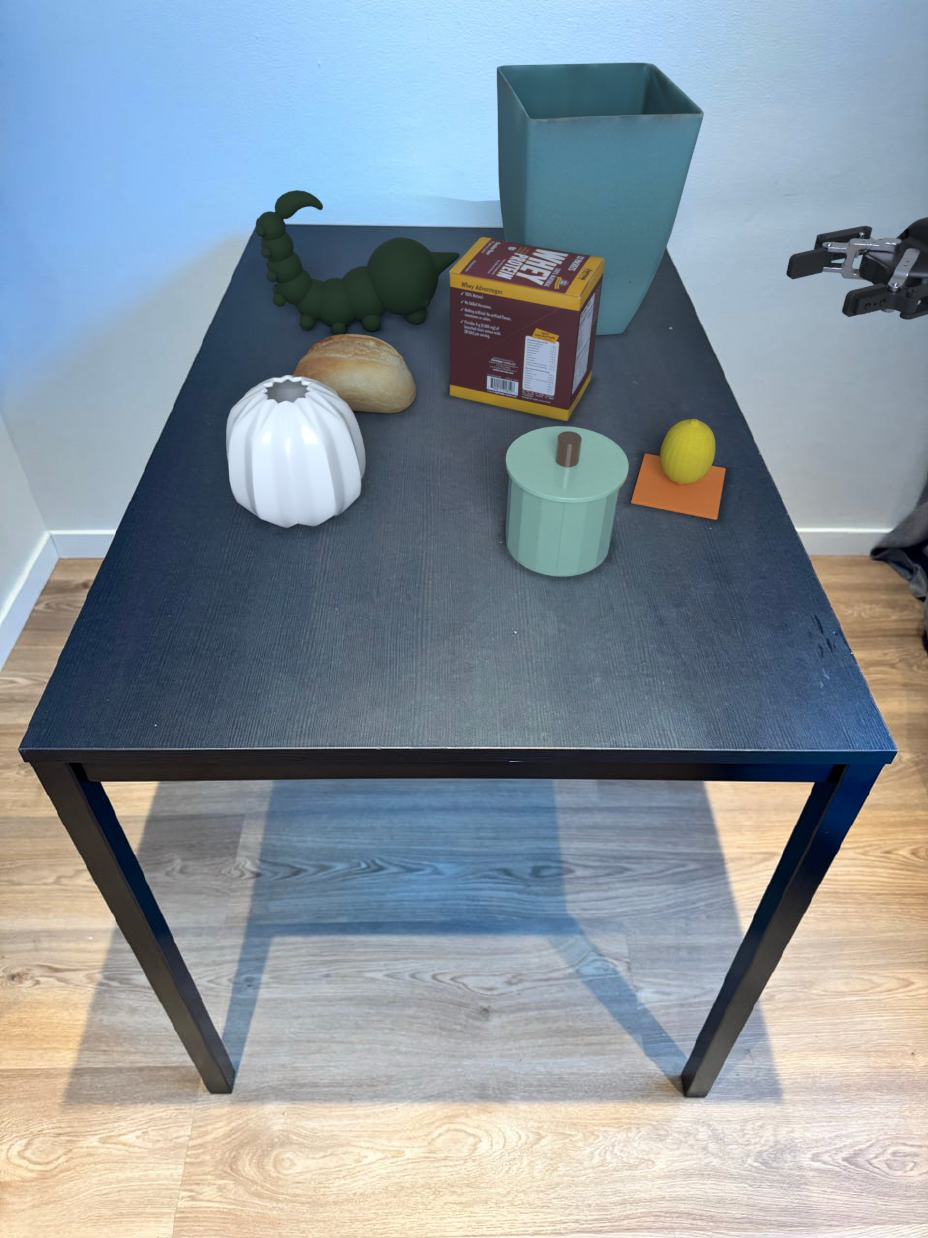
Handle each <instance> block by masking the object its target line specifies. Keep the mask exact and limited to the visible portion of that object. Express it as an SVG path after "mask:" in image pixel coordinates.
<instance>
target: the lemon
mask: <svg viewBox="0 0 928 1238" xmlns="http://www.w3.org/2000/svg"><path fill="white" fill-rule="evenodd" d="M715 455H716V439H715V435H714V432H713V431H712V429H711V428H710V426H708V425H707V424H706V423H705V422H703V421H701V420H699V419H697V418H687V419H683V420H680V421H679V422H677V423H675V424H674V425H673V426H672V427H671V428H670V429H669V430H668V431H667V433H666V434H665V436H664V438H663V441H662V444H661V447H660V453H659V456H660V463H661V467H662V469H663V472H664V473H665V475H666V476H667V477H668V478H669V479H670V480H672V481H674V482H676V483H678V484H679V485H683V484H691V483H694V482H697V481H699V480H700V479H701V478H703V477H704V476H705V475H706V474H707V472H708V471H709V469H710V468H711V466H713V463H714V460H715Z"/></svg>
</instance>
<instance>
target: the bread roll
mask: <svg viewBox="0 0 928 1238" xmlns="http://www.w3.org/2000/svg"><path fill="white" fill-rule="evenodd" d="M291 375H293V376H297V377H300V376H303V377H307V378H310V379H313V380H316V381H319V382H321V383H323V384H326V385H327V386H329V387H331V388H333V389H335V390H336V392H337V394H338V396H339V397H340V398H341V399H342V400H344V401H345V402H346V403H347V404H348V405H349V407H350V408H351V410H352V412H364V413H373V414H376V413H377V414H399V413H400V412H403V411H405V410H407V409H408V408H409V407H410V406H411V405H412V404H413V403H414V401H415V400H416V397H417V386H416V383H415V380H414V377H413V374H412V372H411V371H410V369H409V367H408V365H407V364H406V362H405V359H404V357H403V355H401V354H400V353H399V352H398V351H397V349H396V348H394V346H393V345H391V344H390V343H388V342H387V341H384V340H382V339H380V338H378V337H375V336H371V335H366V334H357V333H345V334H341V335H335V334H333V335H330V336H326V337H325V338H323V339H321V340H320V341H318V342H316V343H314V344H313V345H312V346H311V348H310V349H309V350H307V353H305V354H304V355H303V356H302V358H301V359H300V360H299V361H298V363H297V365H296V366H295V369H294V371H293V373H292V374H291Z"/></svg>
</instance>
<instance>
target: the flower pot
mask: <svg viewBox="0 0 928 1238" xmlns="http://www.w3.org/2000/svg"><path fill="white" fill-rule="evenodd" d="M496 97H497V98H496V100H497V101H496V102H497V164H498V165H497V166H498V167H497V168H498V171H497V172H498V173H497V174H498V192H499V204H500V214H501V223H502V230H503V236H504V241H507V242H513V243H519V244H524V245H530V246H535V247H541V248H547V249H553V250H559V251H565V252H571V253H577V254H583V255H590V256H597V257H601V258H604V259H605V263H604V272H603V280H602V288H601V296H600V305H599V313H598V322H597V330H596V336H610V335H621V334H623V333H624V332H625V331H626V329H627V328H628V326H629V324H630V322H631V321H632V319H633V318H634V316H635V315H636V313H637V312H638V310H639V308H640V306H641V304H642V303H643V301H644V300H645V297H646V295H647V293H648V291H649V289H650V287H651V285H652V282H653V280H654V278H655V276H656V274H657V272H658V270H659V267H660V264H661V262H662V261H663V257H664V255H665V252H666V250H667V247H668V243H669V241H670V238H671V236H672V232H673V228H674V225H675V222H676V218H677V215H678V210H679V208H680V202H681V200H682V196H683V192H684V189H685V185H686V181H687V178H688V174H689V170H690V166H691V162H692V160H693V156H694V153H695V148H696V145H697V142H698V138H699V134H700V131H701V127H702V123H703V119H704V115H705V112H704V110H703V109H702V108H701V107H700V106H699V105H697V103H695V101H693V100H692V99H691V97H689V95H687V94H686V93H685V92H684V91H683V90H682V89H681V88H680V87H679V86H677V84H675V82H674V81H672V79H670V78H669V77H668V76H667V74H665V73H664V72H663V71H662V69H660V68H659V67H658V66H657V65H655V64H654V63H651V62H601V63H600V62H595V63H591V62H590V63H549V64H504V65H499V66H497V67H496Z"/></svg>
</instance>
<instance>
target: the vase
mask: <svg viewBox="0 0 928 1238" xmlns="http://www.w3.org/2000/svg"><path fill="white" fill-rule="evenodd" d="M225 429H226V430H225V447H226V458H227V464H228V478H229V484H230V488H231V493H232V495H233V497H234V499H235V502H236V503H238V504H239V505H240V506H242V507H243V508H245V509H246V510H247V511H249V512H251V513H252V514H253V515H255V516H256V517H257V518H259V519H260V520H262V521H266V522H268V523H270V524H273V525H276V526H278V527H281V528H285V529H288V528H289V529H290V528H292V527H293V526H296V525H304V526H309V527H317V526H320V524H322V523H324V522H326V521H327V520H329V519H331V518H332V517H339V516H340V515H342V514H343V513H344V512H345V511H346V510H347V509H348V508H349V507H350V506H351V505H352V504H353V503H354V502H355V501H356V500H357V499H358V498H359V497H360V496H361V493H362V479H363V477H364V475H365V473H366V464H367V460H366V449H365V446H364V445H365V444H364V440H363V436H362V431H361V430H360V426H359V423H358V421H357V418H356V416H355V413H354V411H352V410H351V408H350V407H349V405H348V404H347V403H346V402H345V401H344V400H342V399H341V398H340V397H339V396H338V394H337V392H336V390H335V389H333V388H331V387H329V386H327V385H326V384H323V383H321V382H319V381H316V380H313V379H310V378H307V377H303V376H300V377H297V376H293V375H292V374H284V375H282V376H280V377H271V378H267V379H265V380H263V381H262V382H260V383H258V384H257V385H255V386H253V387H252V388H250V389H249V390H248V391H247V392H246V393H245V394H244V396H243V397H242V398H240V399H239V400H238V402H236V404H234V405H233V406H232V407H231V409H230V412H229V414H228V417H227V420H226V428H225Z"/></svg>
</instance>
